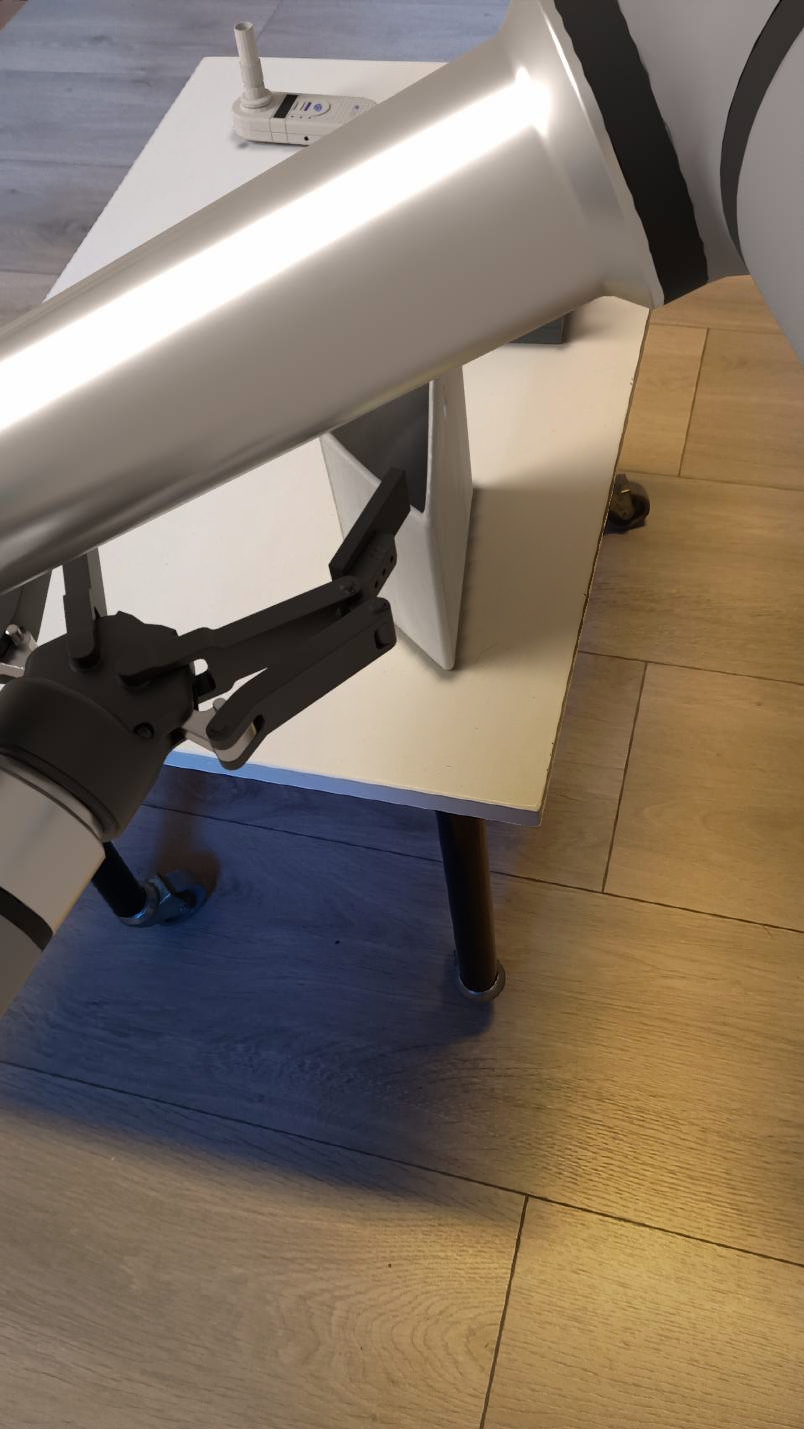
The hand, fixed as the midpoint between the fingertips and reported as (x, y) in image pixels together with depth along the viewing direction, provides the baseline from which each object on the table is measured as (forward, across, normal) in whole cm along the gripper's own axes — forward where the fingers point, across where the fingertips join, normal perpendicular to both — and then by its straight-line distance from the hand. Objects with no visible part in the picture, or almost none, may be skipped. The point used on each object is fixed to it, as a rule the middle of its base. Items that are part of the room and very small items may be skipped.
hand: (280, 455), depth 56 cm
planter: (+10, 0, -20) cm, 22 cm away
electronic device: (+58, -33, -20) cm, 70 cm away
